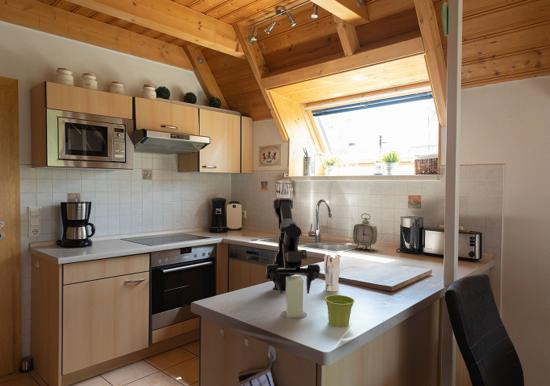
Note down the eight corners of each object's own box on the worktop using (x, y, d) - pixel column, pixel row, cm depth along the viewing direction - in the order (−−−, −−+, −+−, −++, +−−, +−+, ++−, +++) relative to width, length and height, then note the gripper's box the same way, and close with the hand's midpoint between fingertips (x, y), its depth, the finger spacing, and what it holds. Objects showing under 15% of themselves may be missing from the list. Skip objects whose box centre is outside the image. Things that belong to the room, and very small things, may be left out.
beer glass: (327, 287, 167) (328, 253, 166) (342, 289, 163) (343, 255, 163) (320, 290, 161) (321, 255, 160) (336, 293, 157) (337, 257, 157)
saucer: (276, 318, 127) (276, 316, 127) (287, 310, 135) (287, 308, 135) (300, 323, 123) (300, 321, 123) (310, 315, 131) (310, 312, 131)
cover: (285, 311, 132) (286, 276, 131) (300, 311, 132) (300, 276, 132) (287, 317, 126) (287, 280, 126) (302, 317, 127) (303, 280, 127)
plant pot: (351, 320, 127) (351, 295, 126) (356, 332, 117) (356, 304, 117) (323, 319, 127) (323, 294, 127) (325, 331, 118) (326, 303, 117)
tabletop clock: (352, 248, 263) (353, 213, 262) (358, 247, 270) (359, 212, 270) (372, 251, 254) (373, 214, 254) (377, 249, 262) (378, 213, 261)
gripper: (266, 241, 132) (268, 281, 121) (319, 241, 133) (326, 280, 123) (264, 259, 140) (266, 298, 129) (314, 259, 141) (320, 297, 131)
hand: (294, 293), depth 128 cm, fingers open, 9 cm apart
